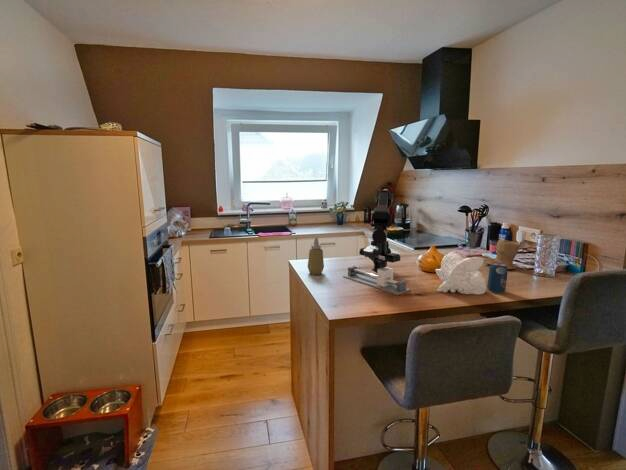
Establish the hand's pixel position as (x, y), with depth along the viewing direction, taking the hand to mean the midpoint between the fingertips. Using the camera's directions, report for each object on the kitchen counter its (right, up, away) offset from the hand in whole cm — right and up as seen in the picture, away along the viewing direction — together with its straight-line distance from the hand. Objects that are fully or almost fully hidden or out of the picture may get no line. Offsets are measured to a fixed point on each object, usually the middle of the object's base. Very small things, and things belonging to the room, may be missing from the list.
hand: (378, 273), depth 156 cm
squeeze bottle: (-28, -2, +16) cm, 32 cm away
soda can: (+49, -7, -6) cm, 50 cm away
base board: (-1, -5, +2) cm, 5 cm away
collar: (+2, -6, -2) cm, 6 cm away
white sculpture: (+33, -7, -5) cm, 34 cm away
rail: (-1, -5, +2) cm, 5 cm away
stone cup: (+73, 0, +34) cm, 80 cm away
